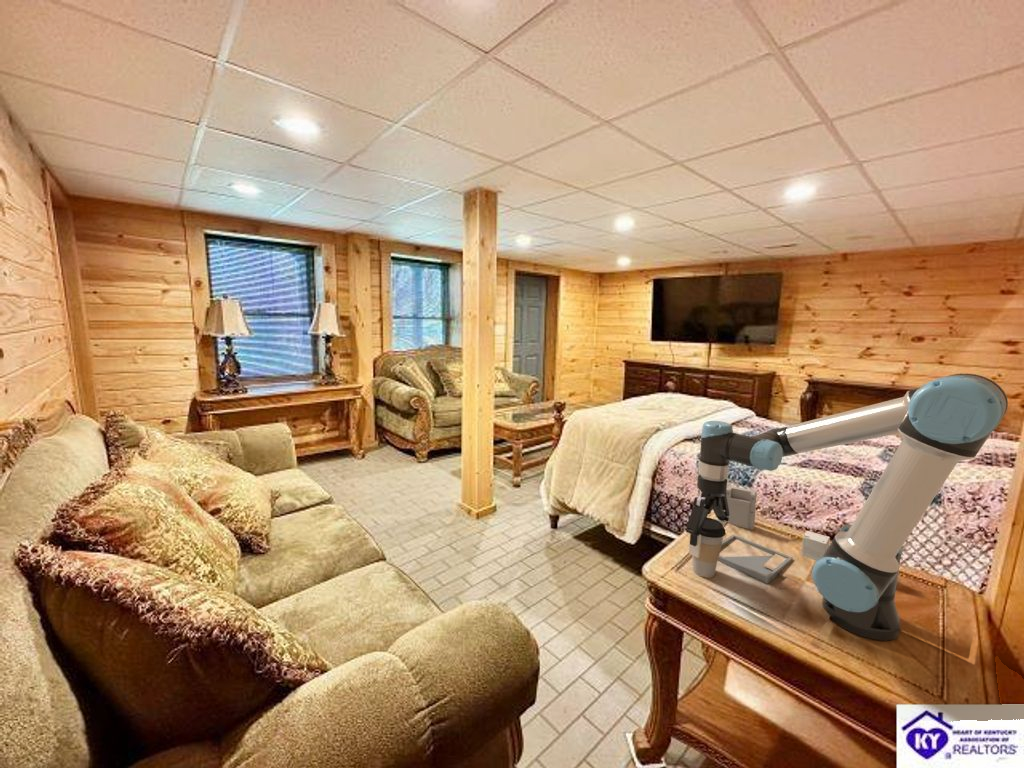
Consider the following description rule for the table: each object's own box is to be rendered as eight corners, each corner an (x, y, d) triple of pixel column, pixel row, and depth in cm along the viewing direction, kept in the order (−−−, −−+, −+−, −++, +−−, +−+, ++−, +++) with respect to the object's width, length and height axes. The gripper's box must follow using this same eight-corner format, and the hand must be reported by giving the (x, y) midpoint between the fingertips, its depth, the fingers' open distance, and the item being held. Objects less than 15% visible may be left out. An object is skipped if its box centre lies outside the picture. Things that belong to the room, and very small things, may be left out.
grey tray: (792, 563, 130) (792, 557, 130) (767, 584, 119) (768, 578, 119) (732, 539, 143) (733, 534, 143) (705, 556, 133) (706, 551, 132)
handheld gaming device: (752, 534, 147) (754, 528, 150) (755, 495, 144) (756, 490, 147) (724, 527, 153) (726, 522, 156) (726, 489, 149) (728, 484, 152)
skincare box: (827, 559, 133) (830, 536, 131) (824, 567, 128) (827, 543, 127) (804, 551, 137) (807, 529, 136) (799, 558, 132) (802, 536, 131)
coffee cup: (714, 564, 129) (718, 516, 126) (726, 583, 119) (731, 531, 117) (681, 561, 129) (685, 514, 127) (691, 580, 120) (695, 529, 118)
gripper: (720, 464, 131) (714, 530, 134) (675, 482, 116) (670, 556, 119) (746, 471, 125) (739, 540, 128) (702, 490, 110) (696, 568, 113)
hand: (706, 547), depth 124 cm, fingers open, 13 cm apart
